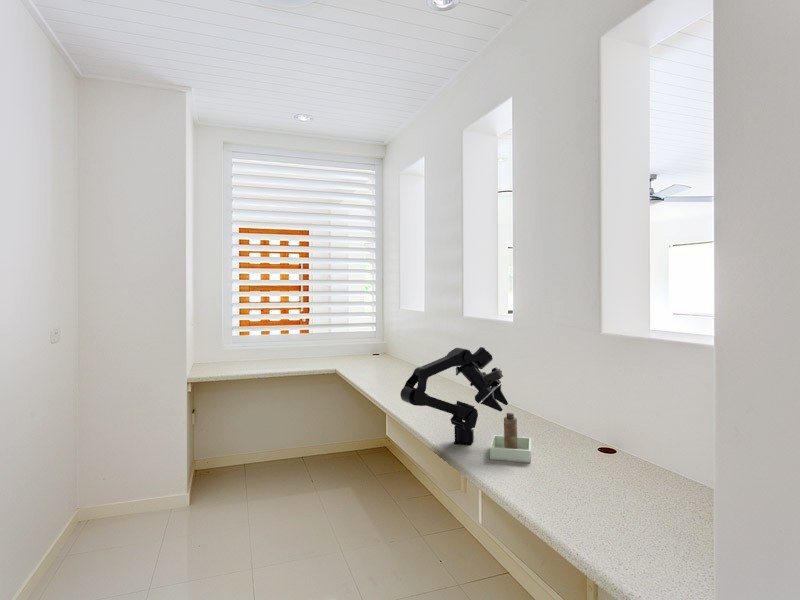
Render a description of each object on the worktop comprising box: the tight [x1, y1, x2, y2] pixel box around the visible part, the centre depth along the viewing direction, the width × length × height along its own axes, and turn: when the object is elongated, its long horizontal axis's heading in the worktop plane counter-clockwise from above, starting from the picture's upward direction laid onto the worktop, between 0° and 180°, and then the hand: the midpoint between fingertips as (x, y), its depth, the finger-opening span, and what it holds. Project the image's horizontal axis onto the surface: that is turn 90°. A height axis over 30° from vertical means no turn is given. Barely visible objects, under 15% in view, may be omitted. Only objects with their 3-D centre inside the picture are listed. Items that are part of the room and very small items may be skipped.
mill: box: [503, 412, 518, 449], centre depth 158 cm, size 4×4×14 cm
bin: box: [489, 434, 532, 464], centre depth 158 cm, size 13×13×4 cm
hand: (504, 407), depth 168 cm, fingers open, 9 cm apart
